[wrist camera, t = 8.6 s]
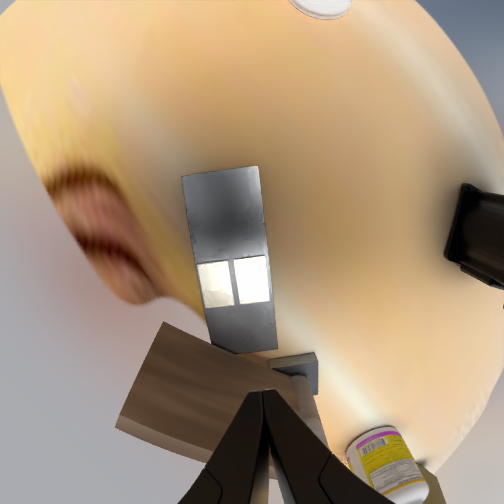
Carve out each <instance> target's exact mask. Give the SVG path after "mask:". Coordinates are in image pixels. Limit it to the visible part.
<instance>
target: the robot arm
mask: <svg viewBox="0 0 504 504" xmlns="http://www.w3.org/2000/svg"><path fill="white" fill-rule="evenodd" d="M466 188H467V191H466ZM450 253H451V255H450ZM449 255H450V256H449ZM445 258H446V259H447V260H449V261H452V262H456V263H459V264H461V266H460V269H461V271H463V272H465V273H467V274H469V275H470V276H472V277H474V278H476V279H478V280H480V281H481V282H483V283H485V284H487V285H489V286H492V287H495V288H498V289H502V290H504V195H501V194H495V193H489V192H483V191H481V190H479V189H477V188H476V187H474V186H472V185H470V184H467V183H464V184H463V185H462V187H461V192H460V197H459V201H458V206H457V210H456V214H455V218H454V222H453V226H452V230H451V233H450V237H449V240H448V244H447V247H446V250H445ZM503 308H504V306H503ZM269 448H270V451H269ZM270 454H271V458H272V462H273V465H274V469H275V472H276V476H277V479H278V483H279V486H280V490H281V493H282V497H283V500H284V504H396V503H394V502H393V501H391V500H390V499H388V498H387V497H385V496H384V495H382V494H381V493H379V492H378V491H376V490H375V489H374V488H372V487H371V486H369V485H368V484H367V483H365V482H364V481H363V480H361V479H360V478H359V477H358V476H356V475H355V474H354V473H353V472H351V471H350V470H349V469H348V468H347V467H346V466H345V465H344V464H343V463H342V462H341V461H340V460H339V459H338V458H337V457H336V456H335V455H334V454H332V452H331V451H330V449H329V448H328V447H327V446H326V445H325V444H324V443H323V442H322V441H321V440H320V439H319V437H318V436H317V435H316V434H315V433H314V432H313V431H312V430H311V429H310V427H309V426H308V425H307V424H306V423H305V422H304V421H303V420H302V418H301V417H300V416H299V415H298V414H297V413H296V412H295V410H294V409H293V408H292V407H291V406H290V405H289V403H288V402H287V401H286V400H285V399H284V397H283V396H282V395H281V394H280V393H279V392H278V390H277V389H275V388H271V389H264V390H263V391H261V390H255V391H249V392H248V393H247V395H246V397H245V398H244V400H243V402H242V404H241V406H240V407H239V409H238V411H237V413H236V414H235V416H234V418H233V420H232V421H231V423H230V425H229V427H228V428H227V430H226V432H225V434H224V435H223V437H222V439H221V440H220V442H219V444H218V445H217V447H216V449H215V450H214V452H213V454H212V455H211V457H210V459H209V460H208V462H207V464H206V465H205V468H204V469H203V470H202V471H201V473H200V475H199V476H198V478H197V479H196V481H195V482H194V483H193V485H192V486H191V488H190V489H189V490H188V492H187V493H186V494H185V495H184V497H183V498H182V499H181V500H180V501H179V502H178V504H268V491H269V490H268V489H269V466H270Z"/></svg>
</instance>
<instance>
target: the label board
mask: <svg viewBox="0 0 504 504" xmlns="http://www.w3.org/2000/svg"><path fill="white" fill-rule="evenodd" d="M182 184H183V191H184V198H185V205H186V211H187V218H188V224H189V230H190V236H191V242H192V248H193V254H194V259H195V265H196V270H197V276H198V281H199V286H200V292H201V297H202V302H203V307H204V312H205V316H206V321H207V326H208V330H209V335H210V340H211V344H212V345H214V346H217V347H219V348H221V349H223V350H226V351H228V352H230V353H233V354H242V353H251V352H259V351H267V350H275V349H278V342H277V332H276V322H275V312H274V303H273V293H272V284H271V274H270V265H269V256H268V247H267V238H266V229H265V220H264V212H263V203H262V195H261V186H260V178H259V170H258V166H249V167H241V168H233V169H226V170H219V171H212V172H205V173H199V174H192V175H186V176H182ZM269 362H270V369H272V370H275V371H278V372H280V373H283V374H286V375H289V376H291V377H292V376H296V375H301V376H304V377H306V378H307V379H308V381H309V384H310V387H311V391H312V394H313V395H318V360H317V357H316V355H315V353H309V354H303V355H297V356H290V357H283V358H276V359H269Z"/></svg>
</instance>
